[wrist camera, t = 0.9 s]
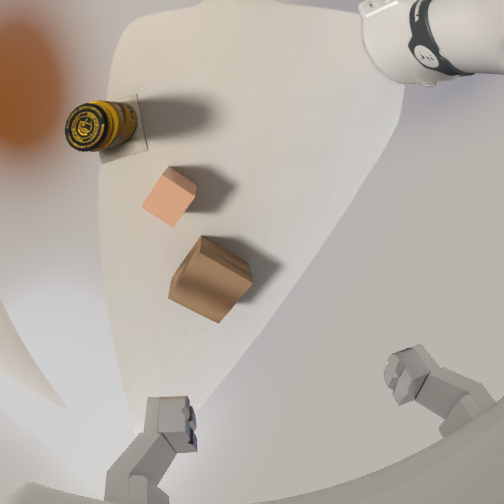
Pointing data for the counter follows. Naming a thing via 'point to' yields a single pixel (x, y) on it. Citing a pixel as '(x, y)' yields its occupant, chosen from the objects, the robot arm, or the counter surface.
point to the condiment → (107, 128)
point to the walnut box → (210, 280)
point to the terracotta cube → (170, 196)
